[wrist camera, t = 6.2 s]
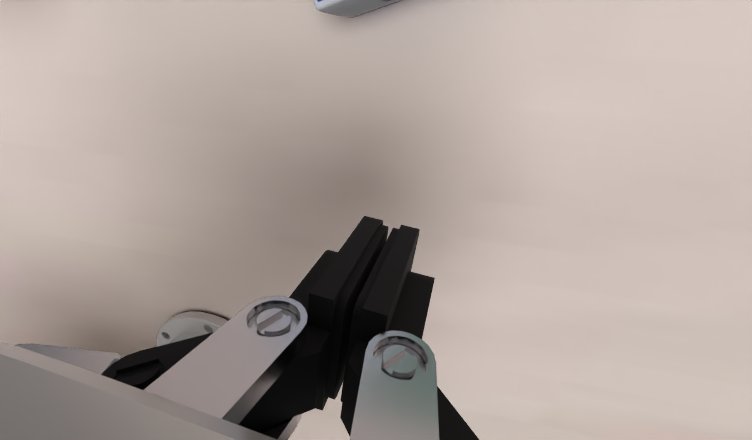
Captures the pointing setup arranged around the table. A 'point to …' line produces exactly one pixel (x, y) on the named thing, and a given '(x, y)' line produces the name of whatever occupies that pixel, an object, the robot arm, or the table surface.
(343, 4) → the medicine box
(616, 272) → the table surface
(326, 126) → the table surface
